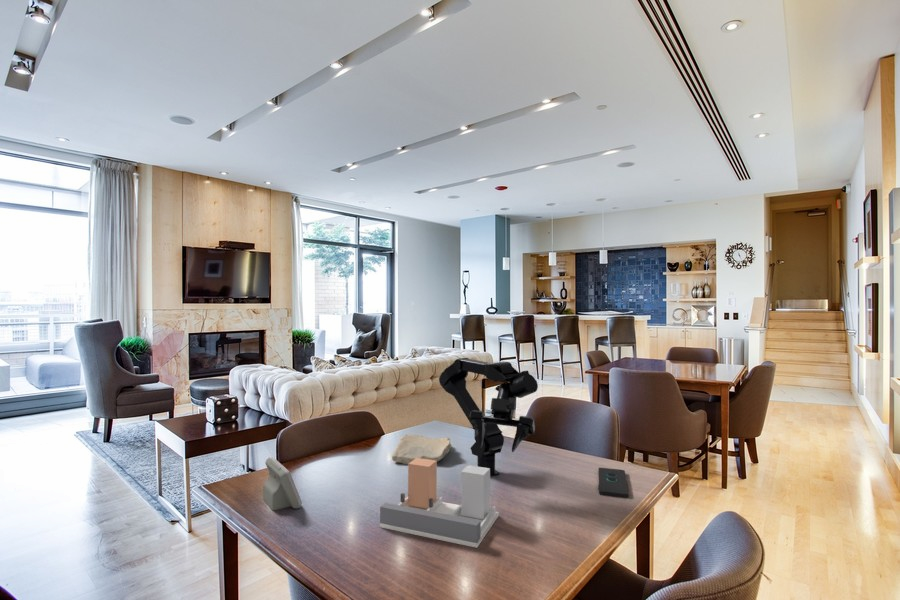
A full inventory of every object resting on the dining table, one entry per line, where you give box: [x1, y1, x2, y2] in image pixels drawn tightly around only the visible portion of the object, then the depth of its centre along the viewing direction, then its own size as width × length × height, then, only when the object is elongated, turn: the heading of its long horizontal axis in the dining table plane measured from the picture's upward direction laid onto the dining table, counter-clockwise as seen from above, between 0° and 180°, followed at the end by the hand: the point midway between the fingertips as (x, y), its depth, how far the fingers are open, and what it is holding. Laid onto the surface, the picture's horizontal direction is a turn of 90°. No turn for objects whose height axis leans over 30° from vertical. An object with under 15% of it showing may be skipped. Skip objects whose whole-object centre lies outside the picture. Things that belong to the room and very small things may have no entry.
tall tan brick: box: [407, 458, 438, 509], centre depth 127 cm, size 5×6×11 cm
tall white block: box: [460, 464, 491, 519], centre depth 121 cm, size 5×6×11 cm
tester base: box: [379, 493, 500, 548], centre depth 119 cm, size 17×25×5 cm
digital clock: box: [262, 457, 303, 511], centre depth 131 cm, size 16×9×11 cm, turn 25°
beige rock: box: [391, 433, 452, 465], centre depth 172 cm, size 24×8×20 cm
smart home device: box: [597, 467, 630, 499], centre depth 144 cm, size 8×2×20 cm
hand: (496, 449), depth 134 cm, fingers open, 9 cm apart
